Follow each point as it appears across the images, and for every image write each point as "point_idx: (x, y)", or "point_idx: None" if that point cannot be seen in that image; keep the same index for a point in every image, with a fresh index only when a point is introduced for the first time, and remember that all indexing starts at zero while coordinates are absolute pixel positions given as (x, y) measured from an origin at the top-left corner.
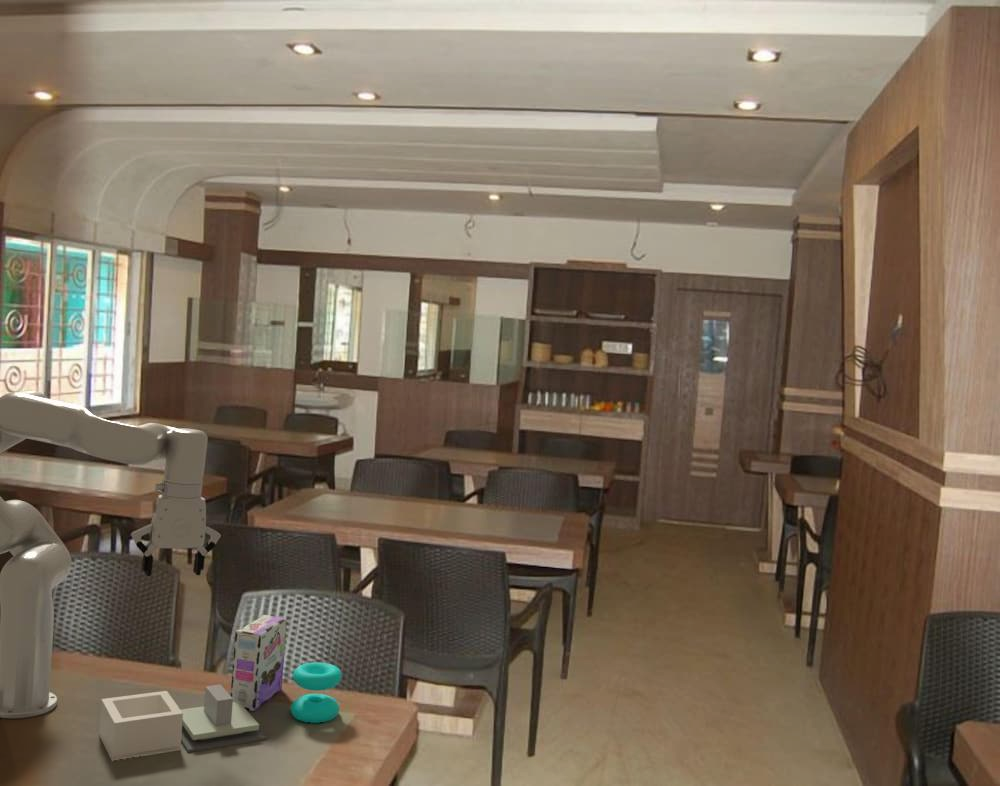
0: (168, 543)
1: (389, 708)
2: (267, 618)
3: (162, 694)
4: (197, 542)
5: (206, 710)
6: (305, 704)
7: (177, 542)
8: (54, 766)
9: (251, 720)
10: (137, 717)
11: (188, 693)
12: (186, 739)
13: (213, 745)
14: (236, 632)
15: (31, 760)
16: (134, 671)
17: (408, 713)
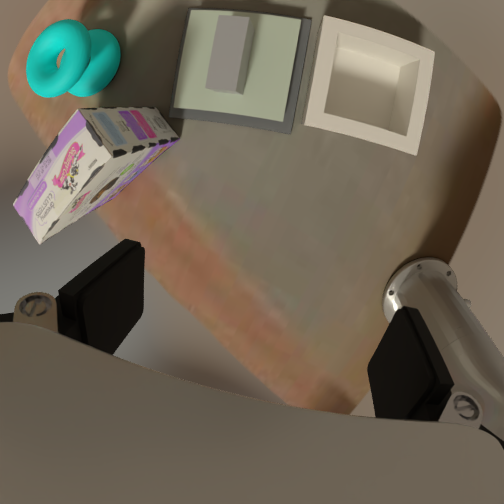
0: (407, 457)
1: (24, 61)
2: (37, 214)
3: (319, 111)
4: (9, 360)
5: (244, 79)
6: (100, 47)
7: (284, 462)
8: (467, 98)
9: (193, 27)
10: (398, 45)
11: (212, 224)
12: (298, 50)
13: (271, 13)
14: (112, 152)
15: (479, 133)
16: (248, 335)
17: (19, 42)
